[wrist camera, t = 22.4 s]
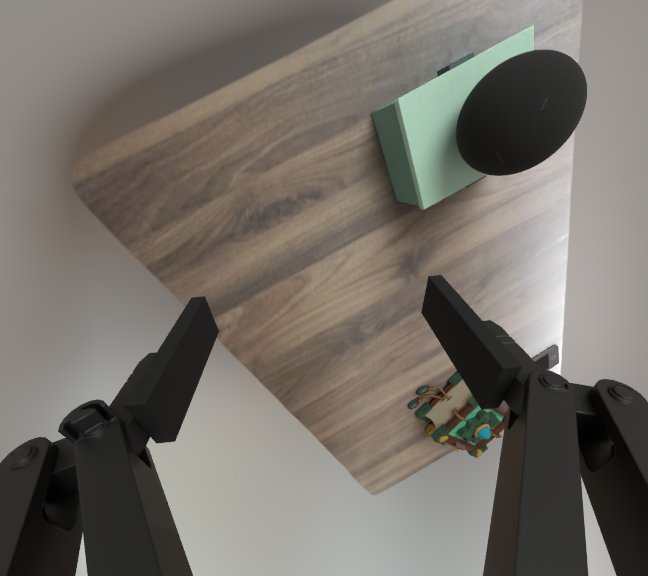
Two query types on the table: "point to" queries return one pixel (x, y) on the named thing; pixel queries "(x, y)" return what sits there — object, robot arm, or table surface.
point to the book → (460, 417)
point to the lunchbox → (437, 127)
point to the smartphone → (547, 358)
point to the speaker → (521, 112)
